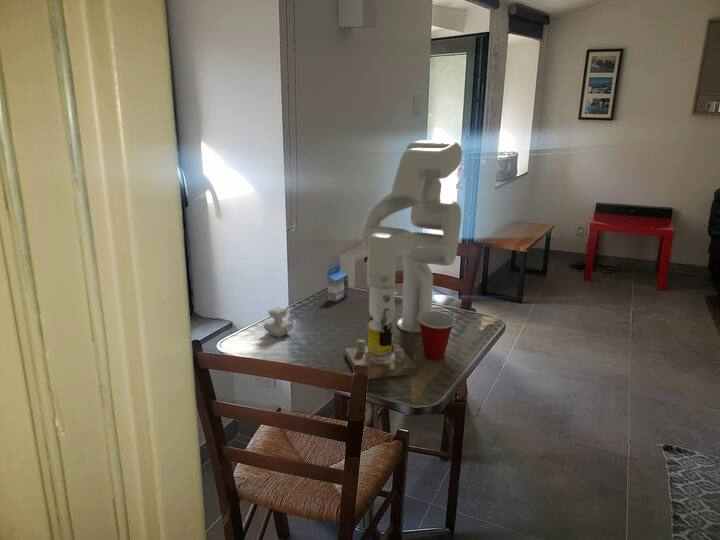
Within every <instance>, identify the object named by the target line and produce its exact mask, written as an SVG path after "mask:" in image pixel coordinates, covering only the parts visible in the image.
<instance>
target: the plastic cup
mask: <svg viewBox="0 0 720 540" xmlns="http://www.w3.org/2000/svg"><path fill="white" fill-rule="evenodd" d="M417 319H418V321H419V325H420V329H421V333H420V335H421V336H420V337H421V345H422V350H423V356H424V355H425V356H424V357H425V358H426V359H428V360H432V361H439V360H442V359H444V357H445V354H446V350H447V347H448V344H449V339H450V335H451V332H452V329H453V327H454V325H455V324H456V319H455V317H454V316H453V315H451V314H449V313H447V312H443V311H436V310H431V311H427V312H423V313H421V314H419V315H418V318H417Z"/></svg>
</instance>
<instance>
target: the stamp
mask: <svg viewBox="0 0 720 540" xmlns="http://www.w3.org/2000/svg"><path fill="white" fill-rule="evenodd" d="M287 314H288V310H287V309H285V308H281V307H278V306H277V307H275V308H272V309H270V310H268V315H269V316H270V317H271V318H273V319H274V320H272V321H269V322H266V323H265V324H264V326H263V328H264V330H265V331H266V332H267V333H268V334H269V335H271V336H273V337H277V338H280V337H282V336H285V335H288V334H290V332H291V330H292V329H294V325H293V323H292V322H290V321H287V320H284V319H283V318H284V317H287Z"/></svg>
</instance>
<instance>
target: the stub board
mask: <svg viewBox="0 0 720 540" xmlns="http://www.w3.org/2000/svg"><path fill="white" fill-rule="evenodd" d="M344 349H345V354H344V355H345V357H346V359H347V360H348V363H349V364H350V366H351V368H352V369H353V366H354V365H364V366H368V367H369V368H370V372H369V379H368V380H372V379H381V378H388V377H396V376H397V377H398V376H404V375H406V376H407V375H413V374H417V371H418V370H417V365H416V364H415V363H414V362H413V360H412V359H411V358H410V356H409V355H408V354H407V353H406V352H405V349H403V348H402V347H401V345H399V343H396V342H395V338H394V337H393V336H392V353H391V357H390V358H388V359H386V360H375V359H374V353H373V352H368V345H367V346H366V340H365V339H357V340H356V347H349V348H344Z"/></svg>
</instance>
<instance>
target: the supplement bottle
mask: <svg viewBox="0 0 720 540" xmlns="http://www.w3.org/2000/svg"><path fill="white" fill-rule="evenodd" d="M372 317H373V320H371V321H370V320H369V322H368V336H367V337H368V339H367V346H368V352H373V353H374V359H375V360H386V359H388V358H390V357H391V353H392V337H393V336H392V337H391V345H387V346H380V345H379V340H380V332H381V328H380V323H378V322H377V321H376V320H375V319H374V316H373V314H372ZM383 320H386V319H383ZM383 320H382V321H383ZM385 325H386V324H383V327H384V326H385Z"/></svg>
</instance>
